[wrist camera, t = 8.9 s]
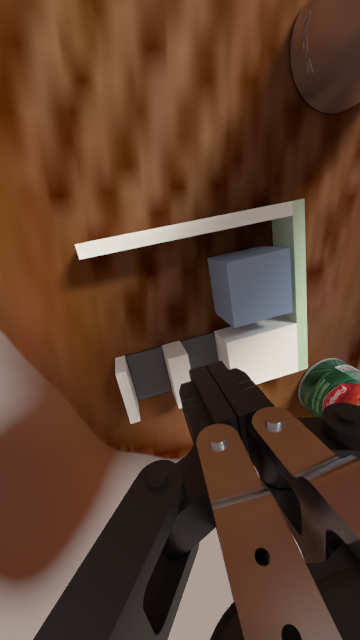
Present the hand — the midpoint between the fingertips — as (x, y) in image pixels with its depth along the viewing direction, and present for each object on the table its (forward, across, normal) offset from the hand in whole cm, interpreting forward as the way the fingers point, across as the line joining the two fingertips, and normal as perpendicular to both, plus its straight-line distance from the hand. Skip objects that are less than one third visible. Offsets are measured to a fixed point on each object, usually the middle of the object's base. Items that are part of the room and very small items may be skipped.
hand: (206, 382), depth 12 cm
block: (+16, -9, 0) cm, 19 cm away
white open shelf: (+16, -4, +2) cm, 17 cm away
